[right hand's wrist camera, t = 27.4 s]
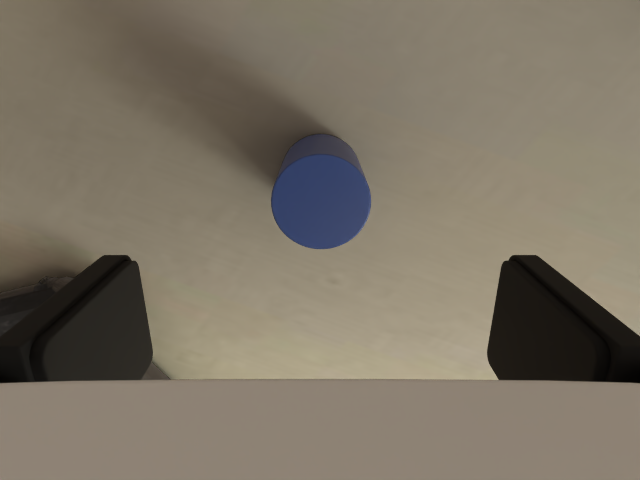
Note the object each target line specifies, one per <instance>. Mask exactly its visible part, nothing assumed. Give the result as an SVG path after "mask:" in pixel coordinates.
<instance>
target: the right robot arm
mask: <svg viewBox="0 0 640 480" xmlns="http://www.w3.org/2000/svg"><path fill="white" fill-rule="evenodd" d="M152 356H153V350H152V343H151V337H150V331H149V325H148V319H147V313H146V307H145V301H144V296H143V290H142V284H141V278H140V272H139V267H138V264H137V262H136V261H131V259H130V257H129V256H127V255H104V256H102V257H100V258H99V259H98V260H97V261H95V262H94V263H93V264H92V265H90V266H89V267H88V268H86V269H85V270H84V271H83V272H81V273H80V274H79V275H78V276H76V277H75V278H74V279H72V280H71V281H70V282H69V283H67V284H66V285H65V286H64V287H62V288H61V289H60V290H59V291H57V292H56V293H55V294H53V295H52V296H51V297H50V298H48V299H47V300H46V301H45V302H43V303H42V304H41V305H40V306H38V307H37V308H36V309H34V310H33V311H32V312H31V313H29V314H28V315H27V316H26V317H24V318H23V319H22V320H20V321H19V322H18V323H17V324H15V325H14V326H13V327H12V328H10V329H9V330H8V331H7V332H5V333H4V334H3V335H1V336H0V480H640V336H639V335H637V334H636V333H635V332H633V331H632V330H631V329H630V328H628V327H627V326H626V325H625V324H623V323H622V322H621V321H620V320H618V319H617V318H616V317H614V316H613V315H612V314H611V313H609V312H608V311H607V310H606V309H604V308H603V307H602V306H600V305H599V304H598V303H597V302H595V301H594V300H593V299H592V298H590V297H589V296H588V295H587V294H585V293H584V292H583V291H581V290H580V289H579V288H578V287H576V286H575V285H574V284H573V283H571V282H570V281H569V280H568V279H566V278H565V277H564V276H562V275H561V274H560V273H559V272H557V271H556V270H555V269H554V268H552V267H551V266H550V265H548V264H547V263H546V262H545V261H543V260H542V259H541V258H540V257H538V256H536V255H513V256H511V257H510V259H509V261H504V262H503V264H502V267H501V272H500V278H499V284H498V290H497V296H496V301H495V307H494V313H493V319H492V325H491V331H490V337H489V343H488V349H487V356H488V361H489V364H490V366H491V368H492V369H493V371H494V372H495V374H496V376H497V377H498V379H499V380H419V379H207V380H141V379H142V377H143V376H144V374H145V372H146V371H147V369H148V368H149V366H150V364H151V361H152Z"/></svg>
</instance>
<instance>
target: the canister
mask: <svg viewBox="0 0 640 480" xmlns="http://www.w3.org/2000/svg"><path fill="white" fill-rule="evenodd" d="M271 207H272V212H273V216H274V219H275V221H276V223H277V225H278V226H279V228H280V229H281V230H282V232H283V233H284V234H285V235H286V236H287V237H288V238H290V239H291V240H293V241H294V242H296V243H298V244H300V245H302V246H305V247H309V248H314V249H329V248H333V247H337V246H340V245H342V244H344V243H346V242H348V241H349V240H351V239H352V238H353V237H355V236H356V235H357V234H358V233H359V232H360V231H361V229H362V228H363V226H364V225H365V223H366V221H367V219H368V216H369V213H370V208H371V195H370V190H369V187H368V184H367V181H366V179H365V176H364V174H363V171H362V169H361V166H360V164H359V161H358V159H357V156H356V154H355V153H354V151H353V150H352V148H351V147H350V146H349V145H348V144H347V143H345V142H344V141H342V140H341V139H339V138H337V137H335V136H331V135H326V134H316V135H311V136H307V137H305V138H303V139H301V140H299V141H298V142H296V143H295V144H294V145H293V146H292V147H291V148H290V149H289V151H288V152H287V154H286V156H285V158H284V160H283V163H282V166H281V168H280V171H279V174H278V176H277V179H276V182H275V184H274V187H273V191H272V196H271Z"/></svg>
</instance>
